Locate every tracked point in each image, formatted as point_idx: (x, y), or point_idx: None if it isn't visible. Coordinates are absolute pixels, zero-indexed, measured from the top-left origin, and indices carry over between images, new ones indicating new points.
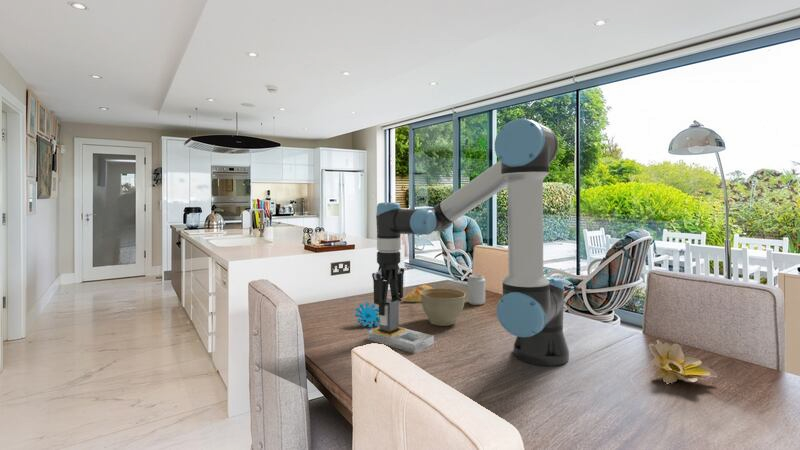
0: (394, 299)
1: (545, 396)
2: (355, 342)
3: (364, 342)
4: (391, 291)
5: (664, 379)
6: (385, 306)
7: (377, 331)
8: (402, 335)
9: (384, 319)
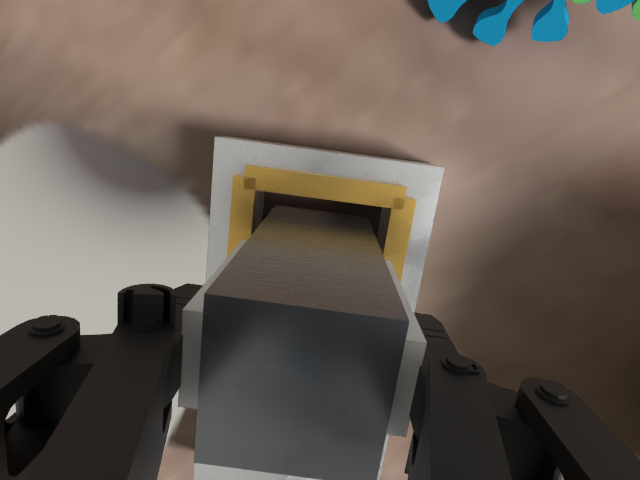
0: (379, 432)
1: None
2: (143, 103)
3: (177, 154)
4: (423, 465)
5: None
6: (184, 387)
7: (236, 217)
8: None
9: None
